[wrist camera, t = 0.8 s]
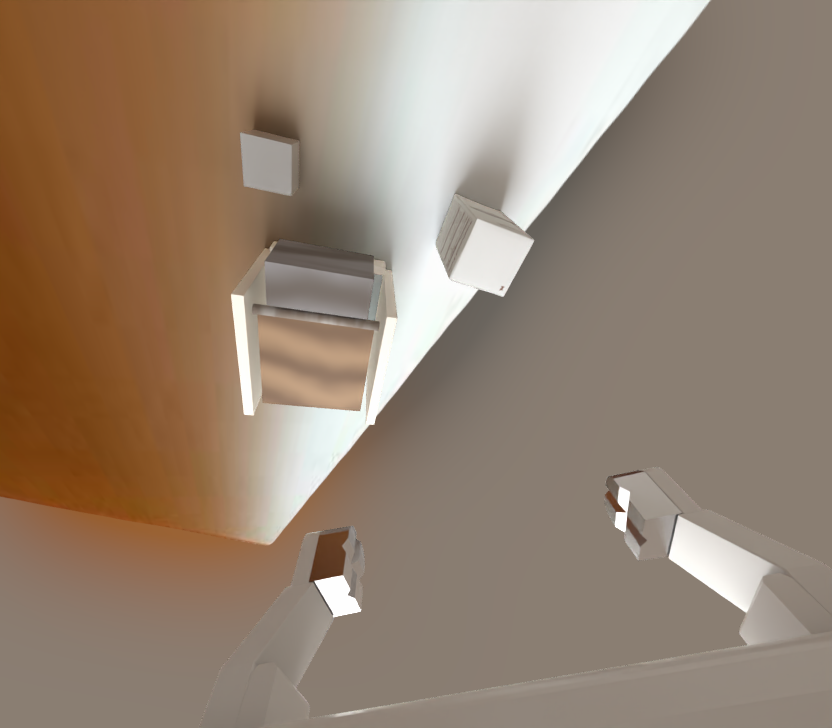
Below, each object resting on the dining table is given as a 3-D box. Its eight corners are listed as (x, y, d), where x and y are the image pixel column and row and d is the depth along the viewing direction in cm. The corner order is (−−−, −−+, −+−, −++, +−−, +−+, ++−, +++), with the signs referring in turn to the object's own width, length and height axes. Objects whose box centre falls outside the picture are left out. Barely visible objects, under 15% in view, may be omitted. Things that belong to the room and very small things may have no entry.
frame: (264, 239, 45) (229, 283, 34) (393, 262, 49) (399, 309, 38) (269, 359, 57) (244, 420, 46) (372, 370, 61) (372, 429, 50)
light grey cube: (253, 129, 38) (240, 132, 34) (299, 140, 39) (291, 144, 35) (256, 178, 41) (243, 186, 37) (299, 187, 42) (291, 196, 38)
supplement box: (502, 210, 46) (538, 240, 36) (478, 260, 50) (503, 299, 40) (454, 190, 44) (477, 216, 34) (432, 244, 48) (448, 281, 38)
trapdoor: (266, 236, 39) (248, 258, 33) (385, 258, 42) (387, 282, 36) (271, 369, 51) (258, 403, 45) (364, 379, 54) (363, 411, 48)
